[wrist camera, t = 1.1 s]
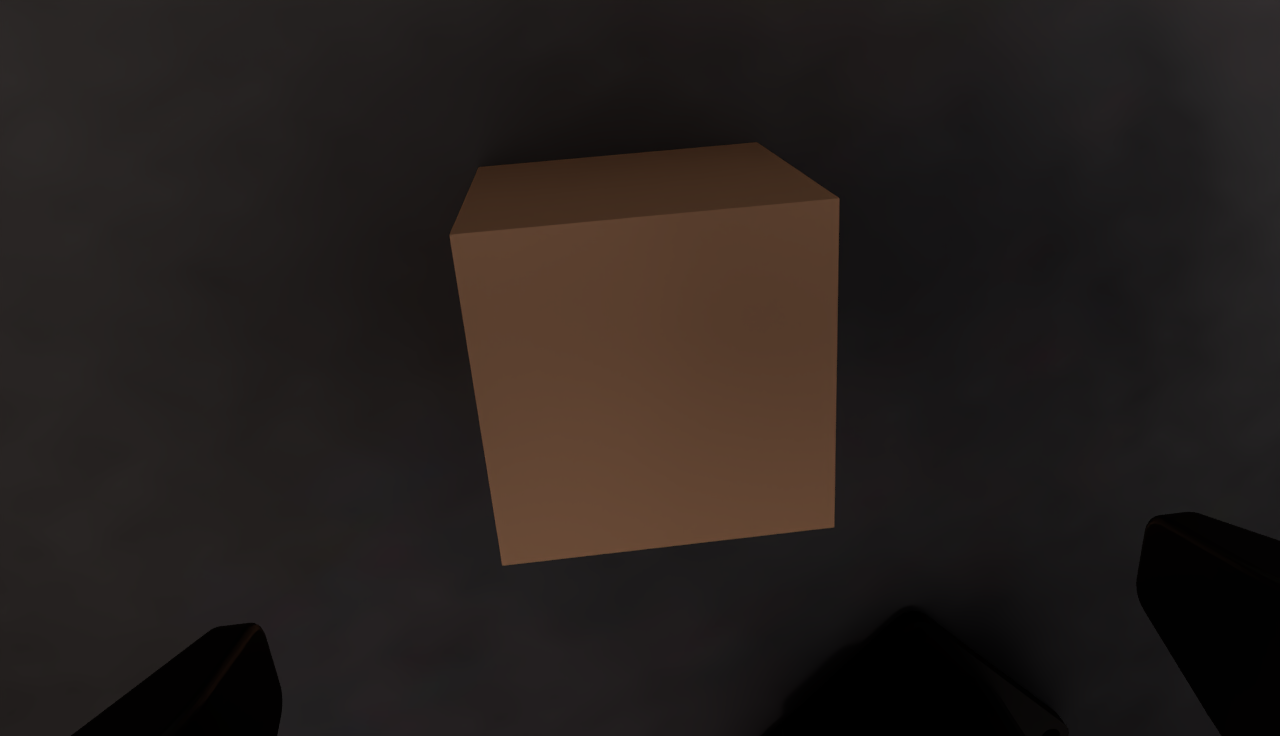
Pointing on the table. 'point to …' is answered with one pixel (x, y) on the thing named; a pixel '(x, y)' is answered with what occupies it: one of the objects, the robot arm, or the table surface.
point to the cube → (651, 348)
